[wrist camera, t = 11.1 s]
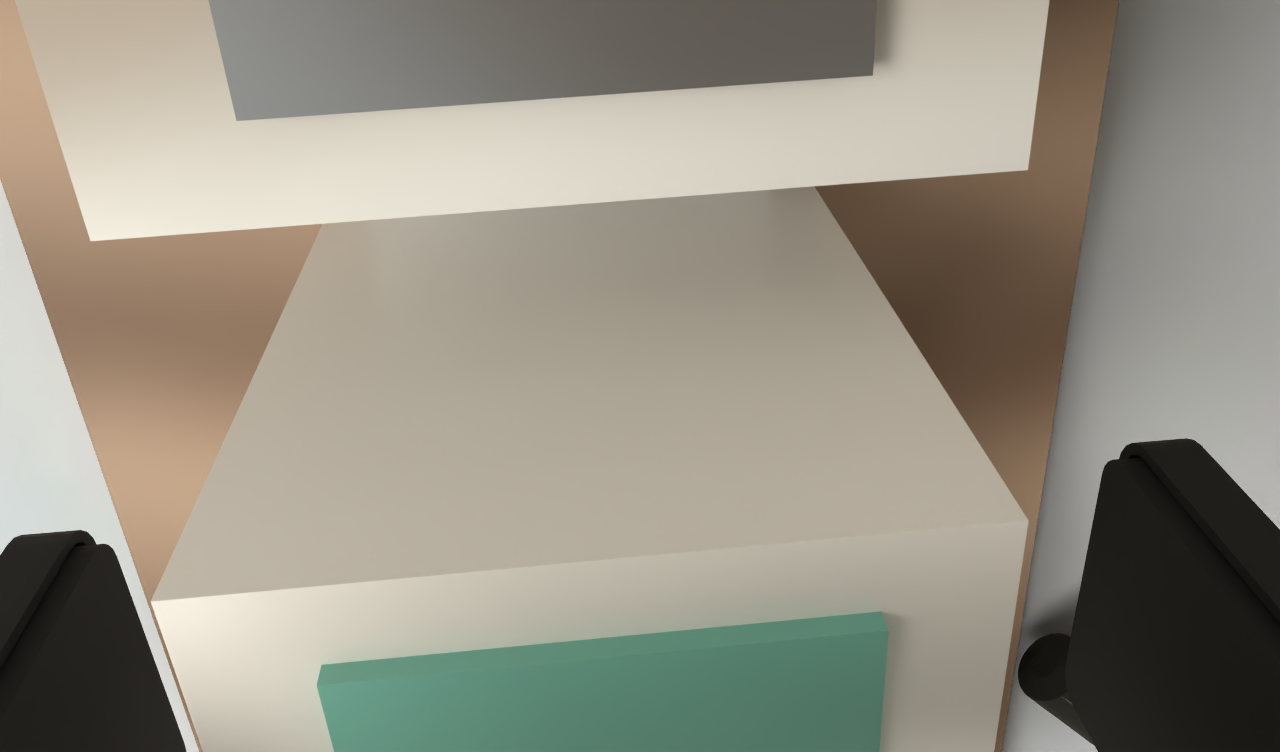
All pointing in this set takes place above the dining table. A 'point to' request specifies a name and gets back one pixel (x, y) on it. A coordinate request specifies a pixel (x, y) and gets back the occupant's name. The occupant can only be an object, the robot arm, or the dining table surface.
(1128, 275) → the dining table surface
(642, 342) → the module block
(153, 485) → the board
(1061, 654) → the handheld radio
